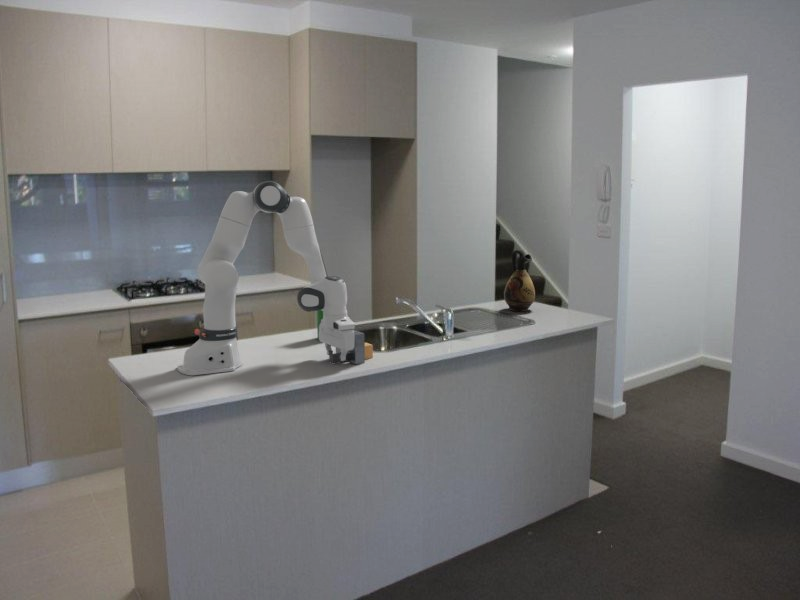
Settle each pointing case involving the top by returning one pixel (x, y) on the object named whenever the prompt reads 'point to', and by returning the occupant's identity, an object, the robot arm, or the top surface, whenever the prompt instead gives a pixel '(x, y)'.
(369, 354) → the plug
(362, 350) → the grey u-shaped block
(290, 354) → the top surface
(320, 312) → the motor
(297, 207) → the robot arm
